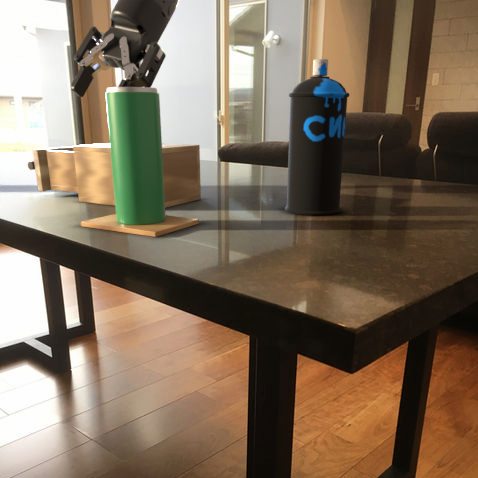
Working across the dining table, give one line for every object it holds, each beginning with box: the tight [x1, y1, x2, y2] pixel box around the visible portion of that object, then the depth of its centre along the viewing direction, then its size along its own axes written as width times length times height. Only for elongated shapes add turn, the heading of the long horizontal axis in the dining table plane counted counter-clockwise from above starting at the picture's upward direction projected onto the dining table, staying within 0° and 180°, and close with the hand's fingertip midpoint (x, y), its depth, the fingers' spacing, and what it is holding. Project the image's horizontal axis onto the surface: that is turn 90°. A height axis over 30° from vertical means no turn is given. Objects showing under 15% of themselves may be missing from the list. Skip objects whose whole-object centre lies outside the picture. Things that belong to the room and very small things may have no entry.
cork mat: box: [80, 213, 200, 238], centre depth 66 cm, size 12×9×1 cm
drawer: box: [27, 145, 78, 193], centre depth 89 cm, size 19×11×7 cm, turn 60°
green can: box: [105, 86, 166, 225], centre depth 64 cm, size 6×6×16 cm
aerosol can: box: [284, 58, 350, 216], centre depth 73 cm, size 8×8×20 cm
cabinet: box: [72, 142, 202, 209], centre depth 83 cm, size 16×12×9 cm
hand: (95, 100), depth 77 cm, fingers open, 8 cm apart
